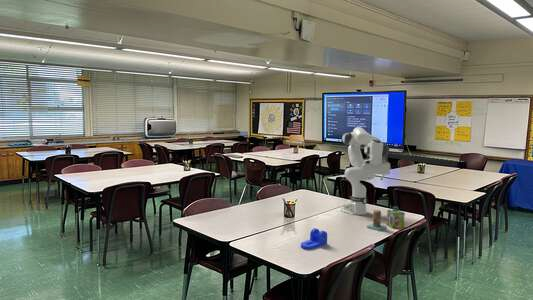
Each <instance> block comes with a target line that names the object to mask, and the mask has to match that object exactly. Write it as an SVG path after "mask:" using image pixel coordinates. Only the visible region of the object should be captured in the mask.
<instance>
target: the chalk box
mask: <svg viewBox="0 0 533 300" xmlns="http://www.w3.org/2000/svg"><path fill="white" fill-rule="evenodd" d="M386 226H387V227H390V228H392V229H401V228H402V229H403V228H404V226H405V212H403V211H401V210H399V207H398V206H392V209H387V211H386Z"/></svg>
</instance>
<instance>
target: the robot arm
mask: <svg viewBox="0 0 533 300" xmlns="http://www.w3.org/2000/svg"><path fill="white" fill-rule="evenodd" d="M341 139H342V143H343V144H344V145H348V148H347V153H348V159H349V162H350V165H351V167H347V168H346V169H345V170H344V176H345V179H346V180H348V181H349V183H350V184H351V189H352V190H351V191H352V195H351V196H349V200H348V201H346V202H345V203H344V204H343V207H342V208H340V212H343V213H346V214H350V215H354V216H355V215H357V216H358V215H359V216H360V215H361V216H363V215H367V214H368V211H367V196H366V195H367V188H366V186H365V185H364V184H362V183H361V181H371V180H374V178H375V176H376V175H382V177H380V180H381V181H384V177H385V175H390V173H391V172H390V168H391V163H390V162H389V161H383V157H386V156H387V155H388V154H389V153H390V147H389V146H388V144H387V143H384V142H383V141H382V140H380V139H379V138H377V137H375V136H374V135H373V134H370V133H369V132H368V131H366V130H365V129H364V128H363V127H361V126H356V127H354V129H353V130H352V131H351V132H350V131H349V132H348V131H347V132H345V133H343V134H342V137H341ZM361 147H362V148H363V151H364V152H363V153H364V154H365V155H366V156H368V157H369V158H368V159H364V158H363V154H362V152H361Z"/></svg>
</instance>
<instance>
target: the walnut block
mask: <svg viewBox="0 0 533 300" xmlns="http://www.w3.org/2000/svg"><path fill="white" fill-rule="evenodd" d="M372 215H373V216H372V224H373V227H380V226H381V225H382V211H381V210H379V209H374V210H373V213H372Z"/></svg>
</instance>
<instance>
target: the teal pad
mask: <svg viewBox="0 0 533 300" xmlns="http://www.w3.org/2000/svg"><path fill="white" fill-rule="evenodd" d="M366 228H367V229H370V230H374V231H377V232H381V231H382V230H384V229H387V225H383V224H381V226H380V227H373V223H371V224H368V225H366Z"/></svg>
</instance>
